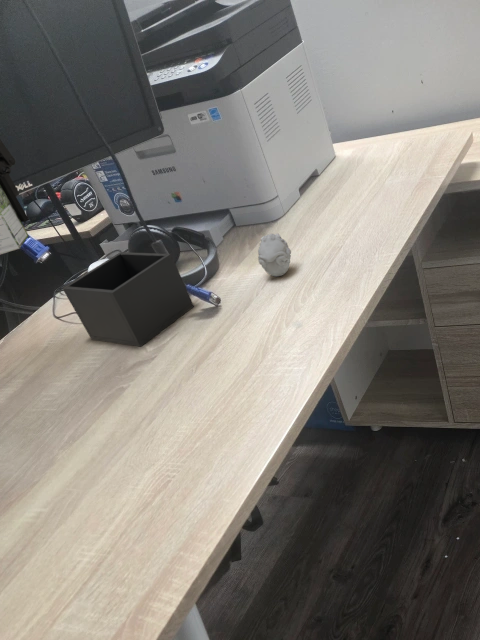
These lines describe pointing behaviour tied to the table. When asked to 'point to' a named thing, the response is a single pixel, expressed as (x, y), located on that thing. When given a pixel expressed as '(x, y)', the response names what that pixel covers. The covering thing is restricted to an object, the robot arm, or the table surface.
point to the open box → (129, 297)
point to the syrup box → (10, 226)
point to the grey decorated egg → (274, 255)
